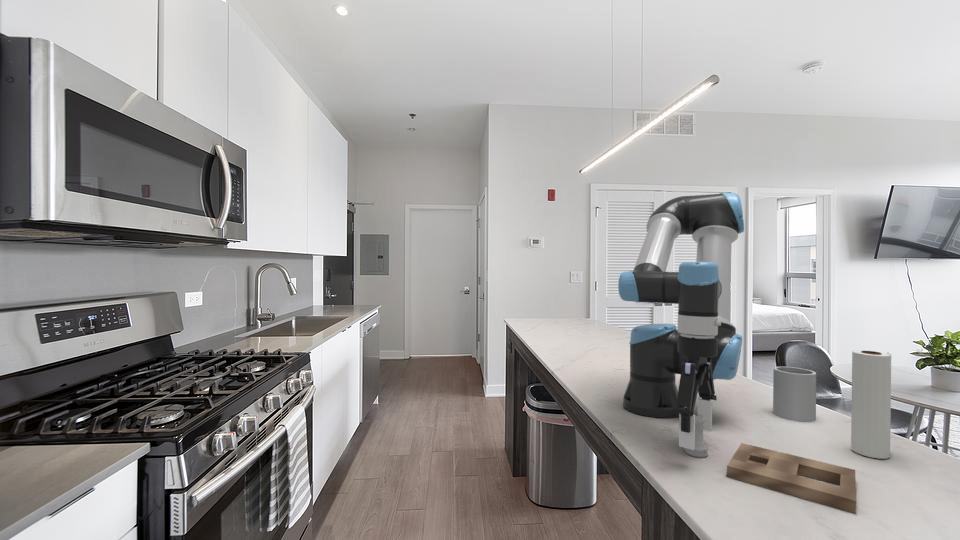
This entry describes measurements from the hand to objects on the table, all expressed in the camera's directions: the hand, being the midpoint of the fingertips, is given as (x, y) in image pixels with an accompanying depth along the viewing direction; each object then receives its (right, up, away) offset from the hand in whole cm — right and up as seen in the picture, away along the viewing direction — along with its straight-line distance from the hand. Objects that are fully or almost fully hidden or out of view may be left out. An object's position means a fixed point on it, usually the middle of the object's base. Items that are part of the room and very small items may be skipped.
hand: (696, 438), depth 89 cm
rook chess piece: (0, -4, 0) cm, 4 cm away
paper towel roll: (+38, -4, +1) cm, 38 cm away
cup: (+38, -4, +24) cm, 45 cm away
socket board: (+12, -3, -10) cm, 16 cm away
